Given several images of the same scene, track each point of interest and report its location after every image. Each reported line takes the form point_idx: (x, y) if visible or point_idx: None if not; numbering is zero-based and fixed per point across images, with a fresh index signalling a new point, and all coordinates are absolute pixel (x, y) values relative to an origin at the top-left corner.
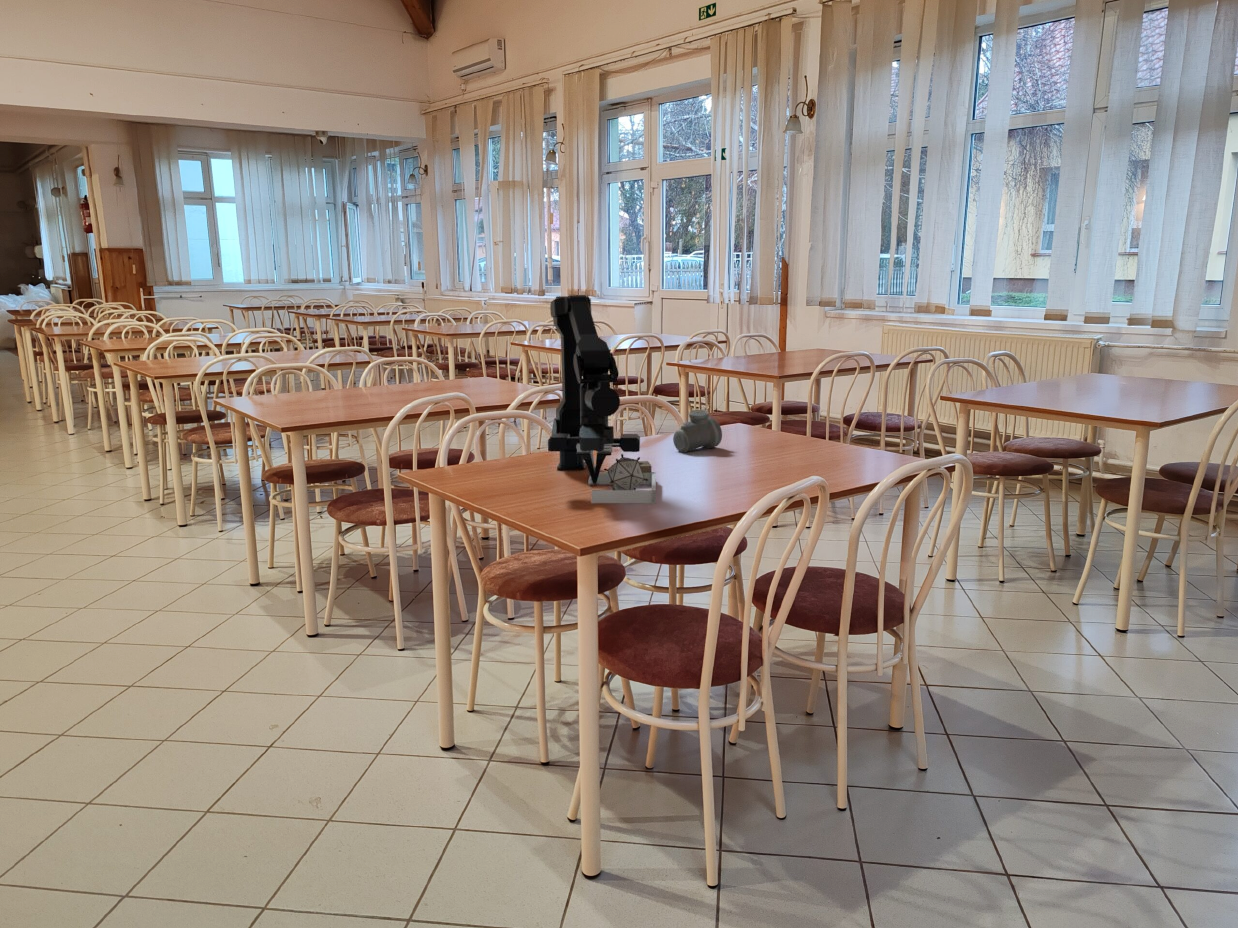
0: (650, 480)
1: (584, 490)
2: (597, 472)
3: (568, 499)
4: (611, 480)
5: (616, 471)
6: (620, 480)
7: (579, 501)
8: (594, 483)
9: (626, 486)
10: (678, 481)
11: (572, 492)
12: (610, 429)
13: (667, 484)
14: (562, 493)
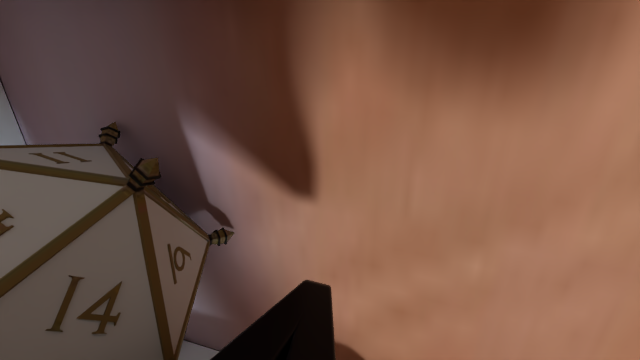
0: None
1: (402, 311)
2: (251, 346)
3: (589, 102)
4: (174, 252)
5: (23, 251)
6: (62, 168)
7: (489, 11)
8: (320, 283)
9: (76, 150)
10: None
11: (494, 292)
12: None
13: None
14: (584, 289)
